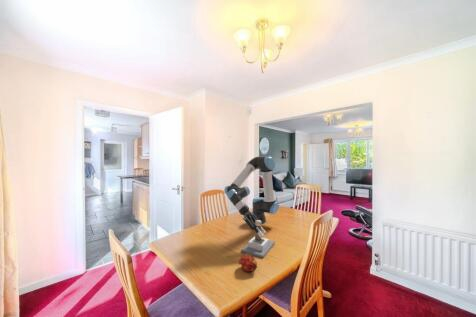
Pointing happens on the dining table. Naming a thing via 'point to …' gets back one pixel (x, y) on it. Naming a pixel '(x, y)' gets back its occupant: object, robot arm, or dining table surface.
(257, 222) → the cream round-topped cylinder
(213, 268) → the dining table surface
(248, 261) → the dragon fruit
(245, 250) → the socket board
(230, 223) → the dining table surface
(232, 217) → the dining table surface
